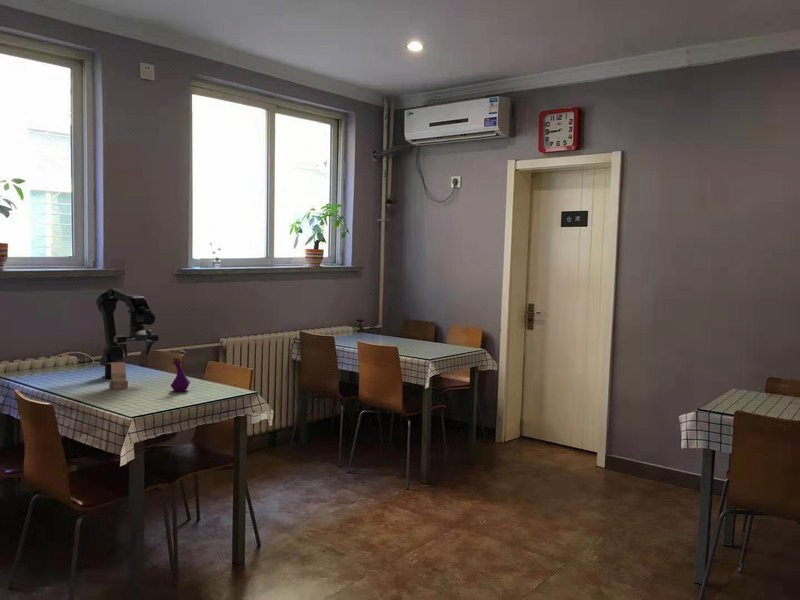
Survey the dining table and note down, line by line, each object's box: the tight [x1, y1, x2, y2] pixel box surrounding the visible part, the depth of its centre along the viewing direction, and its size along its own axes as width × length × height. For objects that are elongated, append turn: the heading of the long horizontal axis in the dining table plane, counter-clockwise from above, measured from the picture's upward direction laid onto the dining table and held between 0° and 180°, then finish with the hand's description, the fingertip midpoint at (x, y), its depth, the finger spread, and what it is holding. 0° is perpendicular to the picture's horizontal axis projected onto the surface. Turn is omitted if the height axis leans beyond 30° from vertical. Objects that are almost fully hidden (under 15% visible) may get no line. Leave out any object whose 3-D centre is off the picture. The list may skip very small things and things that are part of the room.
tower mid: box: [110, 372, 127, 382], centre depth 300 cm, size 5×5×4 cm
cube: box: [111, 361, 127, 374], centre depth 300 cm, size 4×4×4 cm
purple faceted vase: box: [170, 349, 191, 393], centre depth 297 cm, size 8×8×18 cm
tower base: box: [108, 380, 129, 391], centre depth 300 cm, size 6×6×4 cm
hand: (136, 356), depth 311 cm, fingers open, 9 cm apart
